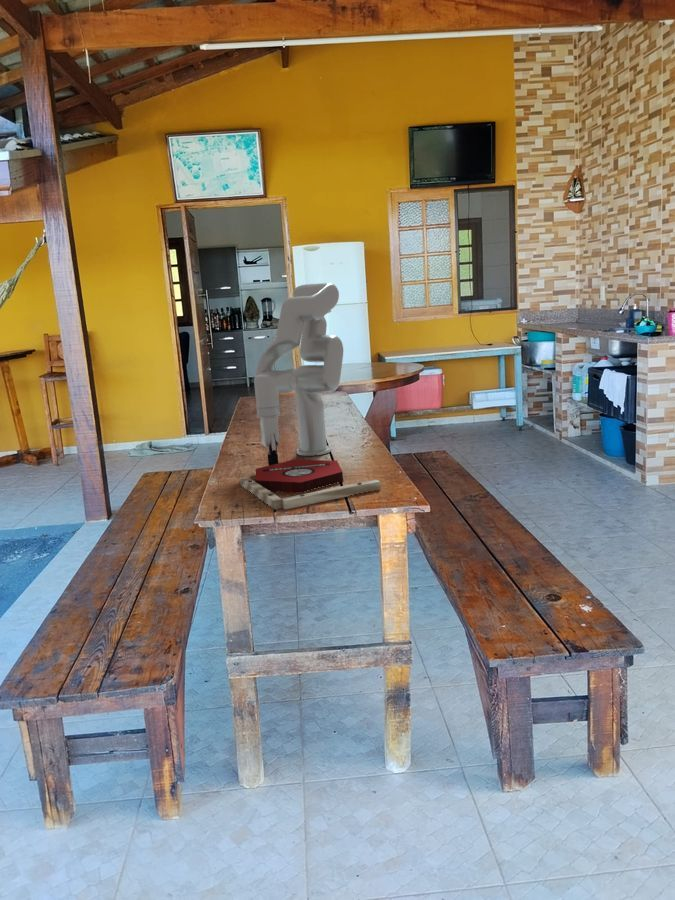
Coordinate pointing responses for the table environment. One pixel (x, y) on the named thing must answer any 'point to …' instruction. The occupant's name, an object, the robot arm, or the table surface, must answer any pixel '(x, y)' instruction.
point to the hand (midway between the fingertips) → (273, 465)
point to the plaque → (299, 475)
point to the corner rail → (309, 497)
